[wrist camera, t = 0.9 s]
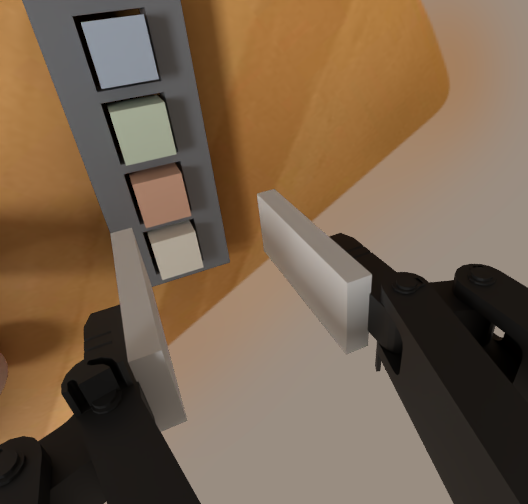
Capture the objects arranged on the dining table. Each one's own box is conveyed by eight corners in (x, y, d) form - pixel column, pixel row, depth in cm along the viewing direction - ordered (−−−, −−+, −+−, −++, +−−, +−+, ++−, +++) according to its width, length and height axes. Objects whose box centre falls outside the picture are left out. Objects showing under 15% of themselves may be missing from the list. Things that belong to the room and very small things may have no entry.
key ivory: (156, 261, 39) (162, 280, 36) (145, 226, 37) (150, 244, 34) (194, 249, 40) (203, 267, 37) (186, 215, 38) (195, 231, 35)
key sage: (122, 153, 33) (126, 165, 30) (106, 104, 31) (109, 112, 28) (168, 142, 34) (176, 154, 31) (156, 94, 32) (164, 102, 29)
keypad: (129, 275, 40) (132, 292, 38) (27, 1, 27) (21, -1, 24) (221, 247, 43) (230, 262, 40) (168, -15, 30) (176, -18, 27)
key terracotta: (140, 211, 36) (146, 228, 33) (127, 170, 34) (132, 184, 31) (182, 200, 37) (191, 215, 34) (173, 160, 35) (181, 173, 32)
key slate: (99, 82, 30) (101, 89, 27) (80, 22, 28) (80, 22, 25) (151, 73, 31) (158, 78, 28) (137, 14, 29) (143, 14, 26)
